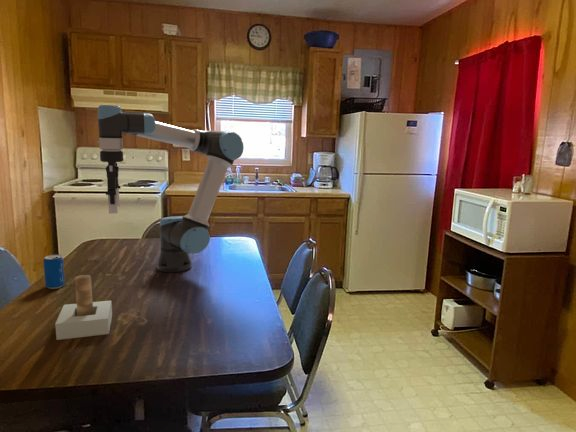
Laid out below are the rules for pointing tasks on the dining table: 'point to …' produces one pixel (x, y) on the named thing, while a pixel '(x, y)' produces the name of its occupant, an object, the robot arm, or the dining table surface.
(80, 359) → the dining table surface
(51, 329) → the dining table surface
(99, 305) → the socket block
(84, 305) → the oak peg
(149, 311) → the dining table surface
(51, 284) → the beverage can
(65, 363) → the dining table surface
